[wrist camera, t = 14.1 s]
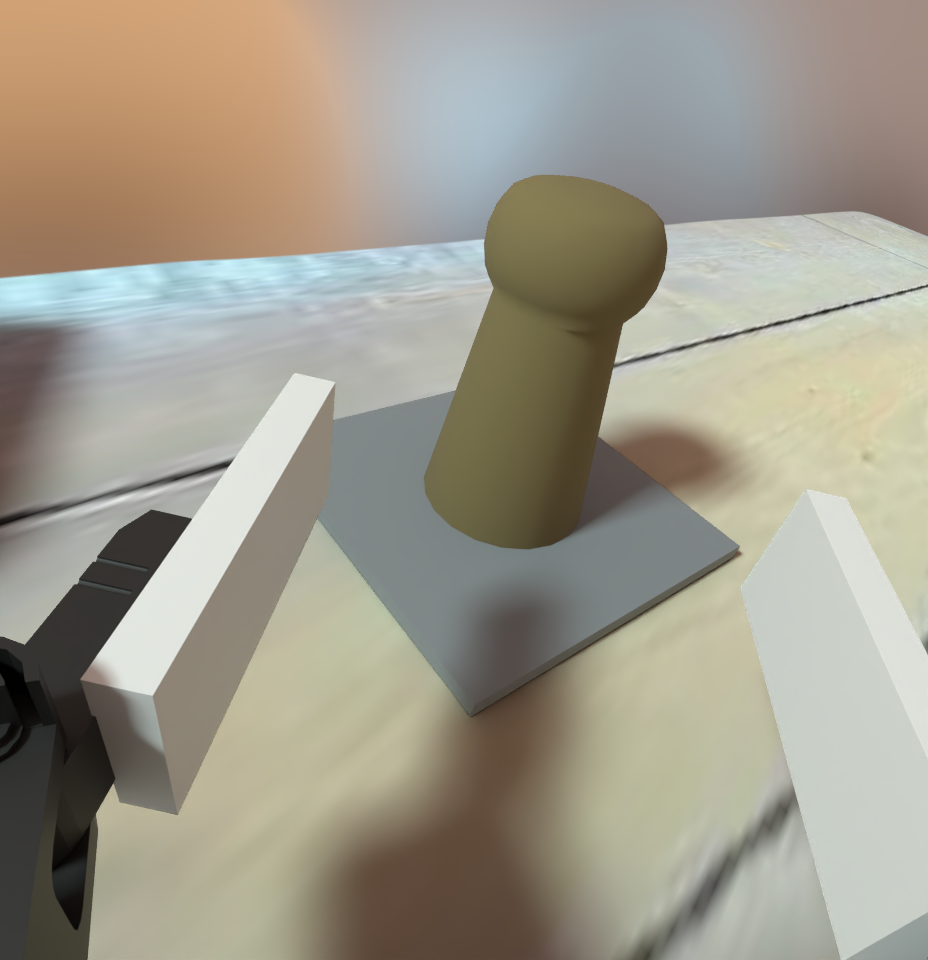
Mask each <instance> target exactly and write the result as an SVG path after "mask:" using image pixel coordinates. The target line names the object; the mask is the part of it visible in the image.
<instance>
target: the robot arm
mask: <svg viewBox="0 0 928 960" xmlns="http://www.w3.org/2000/svg"><path fill="white" fill-rule="evenodd" d="M334 397H335V382H332V381H328V380H323V379H319V378H314V377H310V376H306V375H301V374H297V373H294V375H293V376H292V377H291V379H290V380H289V382H288V383H287V385H286V386H285V387H284V389H283V390H282V392H281V393H280V395H279V396H278V397H277V399H276V400H275V402H274V403H273V405H272V406H271V407H270V409H269V410H268V412H267V413H266V415H265V416H264V417H263V419H262V420H261V422H260V423H259V425H258V426H257V427H256V429H255V430H254V432H253V433H252V435H251V436H250V437H249V439H248V440H247V442H246V443H245V445H244V446H243V448H242V449H241V450H240V452H239V453H238V455H237V456H236V458H235V459H234V460H233V462H232V463H231V465H230V466H229V468H228V469H227V470H226V472H225V473H224V475H223V476H222V478H221V479H220V480H219V482H218V483H217V485H216V486H215V488H214V489H213V490H212V492H211V493H210V495H209V496H208V498H207V499H206V500H205V502H204V503H203V505H202V506H201V508H200V509H199V510H198V512H197V513H196V515H195V516H194V518H193V519H191V518H187V517H182V516H178V515H173V514H169V513H164V512H160V511H155V510H150V511H149V512H147V513H145V514H144V515H142V516H140V517H139V518H137V519H136V520H134V521H132V522H131V523H129V524H127V525H126V526H124V527H123V528H121V529H119V530H118V532H117V533H116V534H115V535H114V537H113V538H112V539H111V540H110V542H109V543H108V544H107V545H106V546H105V548H104V549H103V550H102V551H101V553H100V554H99V555H98V556H97V561H96V562H92V564H91V565H90V566H89V567H88V568H87V570H86V571H85V572H84V573H83V575H82V576H81V577H80V578H79V583H78V584H77V585H76V584H74V586H73V587H72V588H71V589H70V590H69V592H68V593H67V594H66V595H65V597H64V598H63V599H62V600H61V601H60V603H59V604H58V605H57V606H56V608H55V609H54V610H53V611H52V612H51V614H50V615H49V616H48V617H47V619H46V620H45V621H44V622H43V623H42V625H41V626H40V627H39V628H38V630H37V631H36V632H35V633H34V634H33V636H32V637H31V638H30V639H29V641H28V642H27V643H26V644H25V645H24V644H21V643H18V642H16V641H13V640H10V639H7V638H5V637H0V960H87V959H88V947H89V934H90V922H91V910H92V898H93V886H94V874H95V861H96V849H97V837H98V826H97V819H96V812H97V811H98V809H99V807H100V805H101V804H102V802H103V800H104V798H105V797H106V795H107V793H108V791H109V790H110V788H111V786H112V784H113V783H114V786H115V789H116V792H117V795H118V798H119V801H120V802H121V803H126V804H130V805H135V806H139V807H144V808H149V809H153V810H158V811H162V812H167V813H171V814H176V815H178V813H179V811H180V809H181V807H182V805H183V803H184V800H185V798H186V796H187V794H188V792H189V790H190V788H191V786H192V783H193V781H194V779H195V777H196V775H197V773H198V771H199V769H200V766H201V764H202V762H203V760H204V758H205V756H206V754H207V752H208V749H209V747H210V745H211V743H212V741H213V739H214V737H215V735H216V732H217V730H218V728H219V726H220V724H221V722H222V720H223V718H224V715H225V713H226V711H227V709H228V707H229V705H230V703H231V701H232V698H233V696H234V694H235V692H236V690H237V688H238V686H239V684H240V681H241V679H242V677H243V675H244V673H245V671H246V669H247V667H248V664H249V662H250V660H251V658H252V656H253V654H254V652H255V650H256V647H257V645H258V643H259V641H260V639H261V637H262V635H263V633H264V630H265V628H266V626H267V624H268V622H269V620H270V618H271V616H272V613H273V611H274V609H275V607H276V605H277V603H278V601H279V599H280V596H281V594H282V592H283V590H284V588H285V586H286V584H287V582H288V579H289V577H290V575H291V573H292V571H293V569H294V567H295V565H296V562H297V560H298V558H299V556H300V554H301V552H302V550H303V548H304V545H305V543H306V541H307V539H308V537H309V535H310V533H311V531H312V528H313V526H314V524H315V522H316V520H317V518H318V516H319V514H320V511H321V509H322V507H323V505H324V503H325V501H326V499H327V497H328V490H329V474H330V459H331V443H332V428H333V412H334ZM740 590H741V593H742V597H743V601H744V604H745V608H746V612H747V616H748V619H749V623H750V627H751V630H752V634H753V638H754V641H755V645H756V649H757V652H758V656H759V660H760V663H761V667H762V671H763V675H764V678H765V682H766V686H767V689H768V693H769V697H770V700H771V704H772V708H773V711H774V715H775V719H776V722H777V726H778V730H779V734H780V737H781V741H782V745H783V748H784V752H785V756H786V759H787V763H788V767H789V770H790V774H791V778H792V781H793V785H794V789H795V793H796V796H797V800H798V804H799V807H800V811H801V815H802V818H803V822H804V826H805V829H806V833H807V837H808V840H809V844H810V848H811V852H812V855H813V859H814V863H815V866H816V870H817V874H818V877H819V881H820V885H821V888H822V892H823V896H824V899H825V903H826V907H827V911H828V914H829V918H830V922H831V925H832V929H833V933H834V936H835V940H836V944H837V947H838V951H839V955H840V958H841V960H928V654H927V652H926V650H925V649H924V647H923V645H922V643H921V641H920V639H919V637H918V635H917V633H916V631H915V629H914V627H913V625H912V624H911V622H910V620H909V618H908V616H907V614H906V612H905V610H904V608H903V606H902V604H901V602H900V601H899V599H898V597H897V595H896V593H895V591H894V589H893V587H892V585H891V583H890V581H889V579H888V577H887V576H886V574H885V572H884V570H883V568H882V566H881V564H880V562H879V560H878V558H877V556H876V554H875V552H874V551H873V549H872V547H871V545H870V543H869V541H868V539H867V537H866V535H865V533H864V531H863V529H862V527H861V526H860V524H859V522H858V520H857V518H856V516H855V514H854V512H853V510H852V508H851V506H850V504H849V502H848V501H847V499H846V498H844V497H839V496H835V495H830V494H826V493H822V492H817V491H813V490H808V489H805V491H804V492H803V494H802V495H801V497H800V498H799V500H798V501H797V503H796V504H795V506H794V507H793V509H792V510H791V512H790V513H789V515H788V517H787V518H786V520H785V521H784V523H783V524H782V526H781V527H780V529H779V530H778V532H777V533H776V535H775V536H774V538H773V539H772V541H771V542H770V544H769V545H768V547H767V548H766V550H765V551H764V553H763V554H762V556H761V557H760V559H759V560H758V562H757V563H756V565H755V566H754V568H753V569H752V571H751V572H750V574H749V575H748V577H747V578H746V580H745V581H744V583H743V584H742V586H741V587H740Z"/></svg>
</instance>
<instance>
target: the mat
mask: <svg viewBox="0 0 928 960" xmlns="http://www.w3.org/2000/svg"><path fill="white" fill-rule="evenodd" d="M454 394H455V391H452V392H448V393H444V394H440V395H436V396H432V397H427V398H423V399H419V400H415V401H411V402H407V403H403V404H398V405H394V406H390V407H386V408H382V409H378V410H374V411H369V412H365V413H361V414H357V415H353V416H349V417H345V418H340V419H336V420H333V428H332V443H331V459H330V474H329V490H328V497H327V499H326V501H325V503H324V505H323V507H322V509H321V511H320V514H319V516H318V519H319V521H320V522H321V523H322V524H323V526H324V527H325V528H326V530H327V531H328V532H329V534H330V535H331V536H332V537H333V539H334V540H335V541H336V543H337V544H338V545H339V547H340V548H341V549H342V550H343V552H344V553H345V554H346V556H347V557H348V558H349V560H350V561H351V562H352V563H353V565H354V566H355V567H356V569H357V570H358V571H359V573H360V574H361V575H362V576H363V578H364V579H365V580H366V582H367V583H368V584H369V586H370V587H371V588H372V589H373V591H374V592H375V593H376V595H377V596H378V597H379V599H380V600H381V601H382V602H383V604H384V605H385V606H386V608H387V609H388V610H389V612H390V613H391V614H392V615H393V617H394V618H395V619H396V621H397V622H398V623H399V625H400V626H401V627H402V628H403V630H404V631H405V632H406V634H407V635H408V636H409V638H410V639H411V640H412V641H413V643H414V644H415V645H416V647H417V648H418V649H419V651H420V652H421V653H422V654H423V656H424V657H425V658H426V660H427V661H428V662H429V664H430V665H431V666H432V667H433V669H434V670H435V671H436V673H437V674H438V675H439V677H440V678H441V679H442V680H443V682H444V683H445V684H446V686H447V687H448V688H449V690H450V691H451V692H452V693H453V695H454V696H455V697H456V699H457V700H458V701H459V703H460V704H461V705H462V706H463V708H464V709H465V710H466V712H467V713H468V714H469V716H470V717H471V716H473V715H475V714H476V713H478V712H479V711H481V710H483V709H484V708H486V707H488V706H489V705H491V704H493V703H494V702H496V701H498V700H499V699H501V698H502V697H504V696H506V695H507V694H509V693H511V692H512V691H514V690H516V689H517V688H519V687H521V686H522V685H524V684H526V683H527V682H529V681H530V680H532V679H534V678H535V677H537V676H539V675H540V674H542V673H544V672H545V671H547V670H549V669H550V668H552V667H553V666H555V665H557V664H558V663H560V662H562V661H563V660H565V659H567V658H568V657H570V656H572V655H573V654H575V653H576V652H578V651H580V650H581V649H583V648H585V647H586V646H588V645H590V644H591V643H593V642H595V641H596V640H598V639H600V638H601V637H603V636H604V635H606V634H608V633H609V632H611V631H613V630H614V629H616V628H618V627H619V626H621V625H623V624H624V623H626V622H627V621H629V620H631V619H632V618H634V617H636V616H637V615H639V614H641V613H642V612H644V611H646V610H647V609H649V608H650V607H652V606H654V605H655V604H657V603H659V602H660V601H662V600H664V599H665V598H667V597H669V596H670V595H672V594H673V593H675V592H677V591H678V590H680V589H682V588H683V587H685V586H687V585H688V584H690V583H692V582H693V581H695V580H697V579H698V578H700V577H701V576H703V575H705V574H706V573H708V572H710V571H711V570H713V569H715V568H716V567H718V566H720V565H721V564H723V563H724V562H726V561H728V560H729V559H731V558H733V557H734V555H735V553H736V552H737V550H738V549H739V547H740V546H739V545H738V544H736V543H735V542H734V541H733V540H731V539H730V538H729V537H727V536H726V535H725V534H723V533H722V532H721V531H720V530H718V529H717V528H716V527H714V526H713V525H712V524H711V523H709V522H708V521H707V520H705V519H704V518H703V517H701V516H700V515H699V514H698V513H696V512H695V511H694V510H692V509H691V508H690V507H689V506H687V505H686V504H685V503H683V502H682V501H681V500H679V499H678V498H677V497H676V496H674V495H673V494H672V493H670V492H669V491H668V490H667V489H665V488H664V487H663V486H661V485H660V484H659V483H657V482H656V481H655V480H654V479H652V478H651V477H650V476H648V475H647V474H646V473H645V472H643V471H642V470H641V469H639V468H638V467H637V466H635V465H634V464H633V463H632V462H630V461H629V460H628V459H626V458H625V457H624V456H623V455H621V454H620V453H619V452H617V451H616V450H615V449H614V448H612V447H611V446H610V445H608V444H607V443H606V442H604V441H603V440H602V439H601V438H599V437H598V438H597V442H596V447H595V451H594V456H593V460H592V465H591V469H590V474H589V478H588V483H587V487H586V492H585V496H584V501H583V505H582V510H581V514H580V519H579V522H578V524H577V525H576V526H575V528H574V529H573V531H572V532H571V533H570V535H569V536H567V537H565V538H564V539H562V540H560V541H558V542H556V543H554V544H553V545H550V546H544V547H539V548H533V549H514V548H501V547H498V546H494V545H491V544H488V543H484V542H481V541H478V540H474V539H473V538H471V537H469V536H467V535H465V534H464V533H462V532H460V531H458V530H456V529H455V528H453V527H451V526H450V525H449V524H448V523H447V522H446V521H445V520H444V519H443V518H442V517H441V516H440V515H439V514H438V513H436V512H435V511H434V509H433V507H432V505H431V503H430V501H429V500H428V498H427V496H426V494H425V485H424V475H425V472H426V470H427V467H428V464H429V462H430V459H431V456H432V454H433V451H434V448H435V445H436V443H437V440H438V437H439V435H440V432H441V429H442V427H443V424H444V421H445V418H446V416H447V413H448V410H449V408H450V405H451V402H452V400H453V397H454Z"/></svg>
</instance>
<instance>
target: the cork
mask: <svg viewBox="0 0 928 960" xmlns="http://www.w3.org/2000/svg"><path fill="white" fill-rule="evenodd" d="M484 250H485V266H486V269H487V272H488V275H489V278H490V280H491V283H492V285H493V287H494V289H493V291H492V294H491V297H490V300H489V302H488V305H487V308H486V310H485V313H484V316H483V318H482V321H481V324H480V327H479V329H478V332H477V335H476V337H475V340H474V343H473V345H472V348H471V351H470V354H469V356H468V359H467V362H466V364H465V367H464V370H463V373H462V375H461V378H460V381H459V383H458V386H457V389H456V391H455V394H454V397H453V400H452V402H451V405H450V408H449V410H448V413H447V416H446V418H445V421H444V424H443V427H442V429H441V432H440V435H439V437H438V440H437V443H436V445H435V448H434V451H433V454H432V456H431V459H430V462H429V464H428V467H427V470H426V472H425V475H424V485H425V494H426V496H427V498H428V500H429V501H430V503H431V505H432V507H433V509H434V511H435V512H436V513H438V514H439V515H440V516H441V517H442V518H443V519H444V520H445V521H446V522H447V523H448V524H449V525H450V526H451V527H453V528H455V529H456V530H458V531H460V532H462V533H464V534H465V535H467V536H469V537H471V538H473V539H474V540H478V541H481V542H484V543H488V544H491V545H494V546H498V547H501V548H514V549H533V548H539V547H544V546H550V545H553V544H554V543H556V542H558V541H560V540H562V539H564V538H565V537H567V536H569V535H570V533H571V532H572V531H573V529H574V528H575V526H576V525H577V524H578V522H579V519H580V514H581V510H582V505H583V501H584V496H585V492H586V487H587V483H588V478H589V474H590V469H591V465H592V460H593V456H594V451H595V447H596V442H597V438H598V433H599V429H600V424H601V420H602V415H603V411H604V406H605V402H606V397H607V393H608V388H609V384H610V379H611V375H612V370H613V366H614V361H615V357H616V352H617V348H618V343H619V339H620V335H621V330H622V326H623V323H625V322H626V321H627V320H629V319H630V318H632V317H633V316H635V315H636V314H637V313H638V312H639V311H640V310H641V309H643V308H644V307H645V305H646V304H647V302H648V301H649V299H650V298H651V297H652V295H653V294H654V292H655V291H656V289H657V287H658V285H659V282H660V280H661V277H662V275H663V272H664V270H665V263H666V256H667V240H666V234H665V228H664V223H663V221H662V220H661V219H660V217H659V216H658V215H657V213H656V212H655V211H654V210H653V209H652V208H651V207H650V206H649V205H648V204H646V203H644V202H643V201H641V200H639V199H638V198H636V197H634V196H632V195H630V194H628V193H626V192H624V191H622V190H620V189H617V188H615V187H612V186H610V185H607V184H604V183H601V182H597V181H593V180H589V179H584V178H579V177H572V176H559V175H537V176H532V177H529V178H526V179H523V180H520V181H518V182H515V183H514V184H513V185H512V186H511V187H510V188H509V189H508V191H507V192H506V193H505V194H504V195H503V196H502V197H501V199H500V200H499V201H498V203H497V204H496V207H495V209H494V211H493V213H492V215H491V217H490V220H489V222H488V226H487V231H486V237H485V242H484Z"/></svg>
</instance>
